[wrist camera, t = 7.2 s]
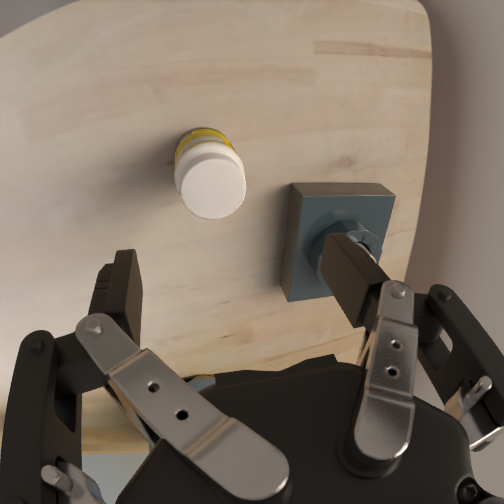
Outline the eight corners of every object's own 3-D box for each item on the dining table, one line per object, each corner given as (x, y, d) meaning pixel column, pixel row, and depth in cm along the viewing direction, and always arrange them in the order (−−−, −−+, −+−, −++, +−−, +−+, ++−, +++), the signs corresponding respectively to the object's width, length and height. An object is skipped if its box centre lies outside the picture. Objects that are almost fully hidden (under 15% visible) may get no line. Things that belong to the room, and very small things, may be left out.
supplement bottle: (230, 178, 27) (251, 224, 20) (176, 181, 26) (176, 229, 19) (231, 124, 24) (254, 151, 18) (173, 127, 23) (171, 155, 17)
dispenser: (291, 182, 29) (311, 206, 24) (380, 183, 31) (407, 204, 27) (279, 284, 35) (293, 315, 31) (357, 275, 37) (376, 301, 33)
